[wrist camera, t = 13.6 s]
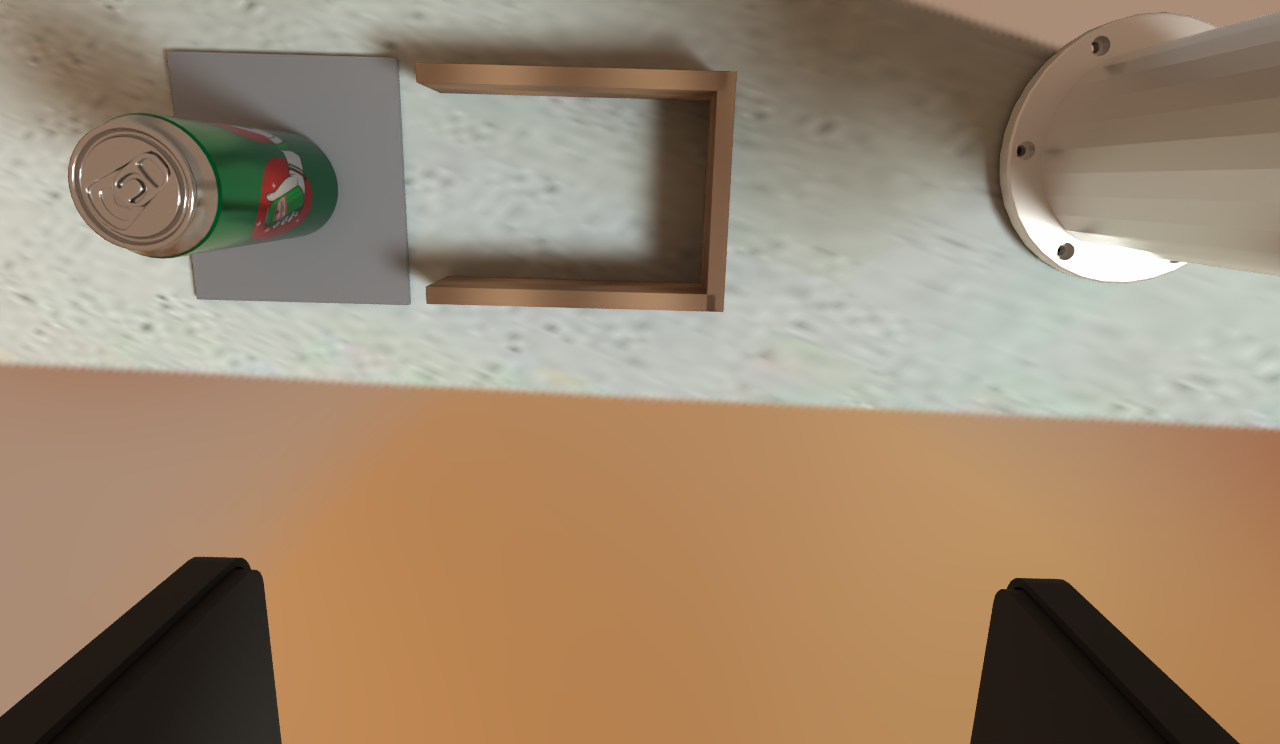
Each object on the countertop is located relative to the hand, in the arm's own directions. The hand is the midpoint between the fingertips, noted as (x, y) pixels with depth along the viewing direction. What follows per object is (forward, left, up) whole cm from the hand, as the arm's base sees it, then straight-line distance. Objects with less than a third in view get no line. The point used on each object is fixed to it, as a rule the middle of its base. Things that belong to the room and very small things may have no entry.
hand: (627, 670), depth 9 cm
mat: (+18, -5, -30) cm, 35 cm away
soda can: (+18, -5, -30) cm, 35 cm away
